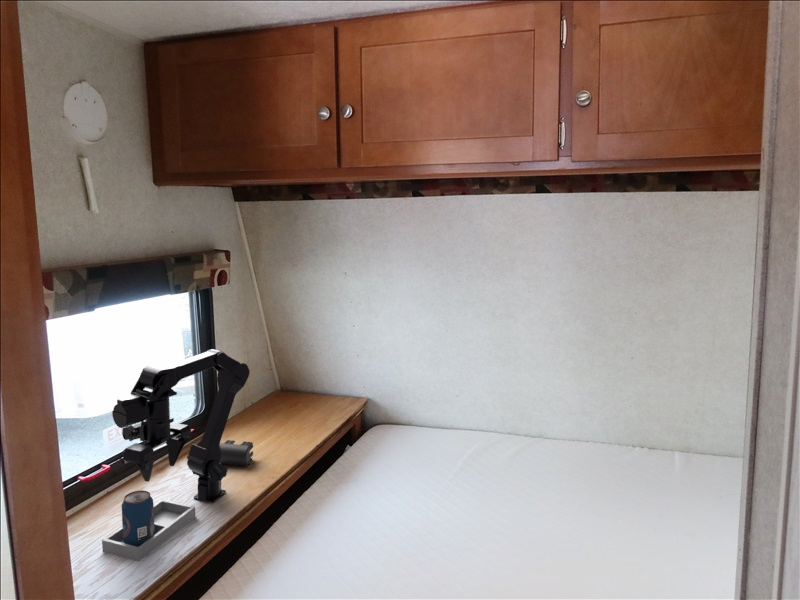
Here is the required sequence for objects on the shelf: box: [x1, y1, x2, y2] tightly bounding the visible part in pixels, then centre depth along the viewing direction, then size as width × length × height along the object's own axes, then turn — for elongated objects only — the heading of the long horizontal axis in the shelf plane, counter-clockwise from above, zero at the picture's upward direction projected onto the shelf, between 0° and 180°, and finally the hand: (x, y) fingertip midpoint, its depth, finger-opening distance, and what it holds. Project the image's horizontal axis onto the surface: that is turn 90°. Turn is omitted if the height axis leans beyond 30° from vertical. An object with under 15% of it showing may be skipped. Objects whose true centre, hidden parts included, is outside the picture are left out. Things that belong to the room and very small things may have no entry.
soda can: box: [121, 490, 155, 547], centre depth 140 cm, size 7×7×12 cm
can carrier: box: [101, 499, 197, 562], centre depth 146 cm, size 20×11×3 cm, turn 162°
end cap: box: [220, 439, 254, 467], centre depth 185 cm, size 10×7×7 cm
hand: (159, 473), depth 150 cm, fingers open, 9 cm apart
